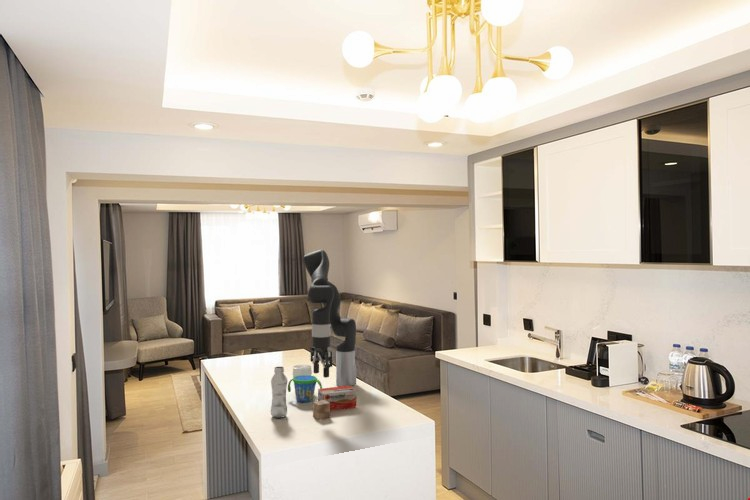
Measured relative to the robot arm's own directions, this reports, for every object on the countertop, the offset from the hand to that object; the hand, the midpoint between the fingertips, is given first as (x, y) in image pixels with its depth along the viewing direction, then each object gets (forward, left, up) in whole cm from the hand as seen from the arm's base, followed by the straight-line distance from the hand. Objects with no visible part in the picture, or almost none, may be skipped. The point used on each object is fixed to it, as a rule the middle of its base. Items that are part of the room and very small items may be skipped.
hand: (321, 375), depth 206 cm
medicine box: (-12, -8, -17) cm, 22 cm away
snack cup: (-5, -25, -17) cm, 31 cm away
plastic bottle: (+14, -10, -17) cm, 24 cm away
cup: (-10, -38, -17) cm, 43 cm away
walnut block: (0, 0, -17) cm, 17 cm away
